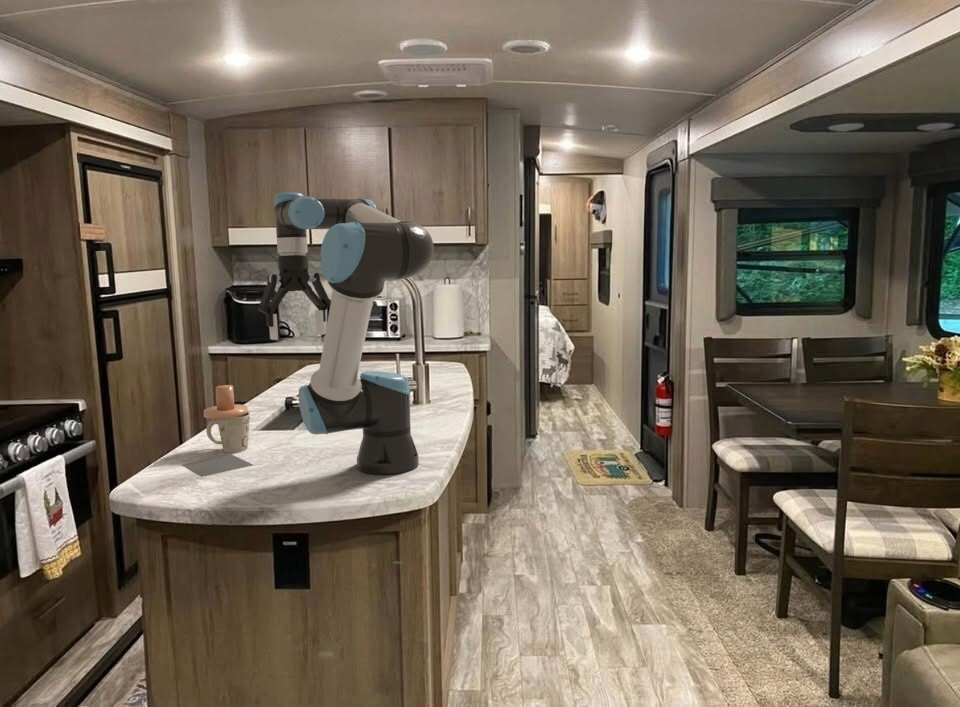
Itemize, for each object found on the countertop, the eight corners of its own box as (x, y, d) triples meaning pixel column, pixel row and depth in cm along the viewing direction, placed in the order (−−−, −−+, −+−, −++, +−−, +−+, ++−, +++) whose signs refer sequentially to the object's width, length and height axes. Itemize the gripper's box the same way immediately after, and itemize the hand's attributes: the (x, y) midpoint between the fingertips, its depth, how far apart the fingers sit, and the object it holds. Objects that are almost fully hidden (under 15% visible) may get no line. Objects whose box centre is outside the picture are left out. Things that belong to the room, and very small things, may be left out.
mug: (242, 456, 193) (239, 418, 192) (198, 454, 196) (195, 417, 194) (257, 447, 201) (255, 411, 200) (215, 445, 204) (213, 410, 202)
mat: (253, 466, 184) (253, 464, 184) (201, 478, 175) (201, 476, 175) (231, 456, 194) (231, 454, 194) (181, 466, 185) (181, 464, 185)
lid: (255, 414, 197) (253, 386, 196) (214, 421, 189) (212, 392, 188) (237, 407, 205) (235, 381, 204) (197, 414, 198) (195, 386, 196)
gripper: (326, 254, 202) (330, 332, 205) (240, 255, 185) (246, 340, 187) (341, 253, 197) (346, 333, 200) (255, 255, 179) (261, 342, 182)
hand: (297, 337), depth 193 cm, fingers open, 13 cm apart
